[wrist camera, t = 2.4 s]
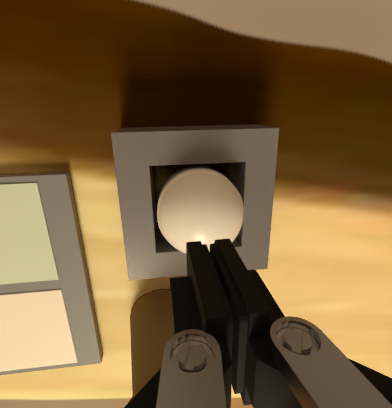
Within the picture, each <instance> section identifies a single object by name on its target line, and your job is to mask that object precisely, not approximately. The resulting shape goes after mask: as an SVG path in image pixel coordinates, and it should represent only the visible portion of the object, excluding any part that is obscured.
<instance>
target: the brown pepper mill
mask: <svg viewBox="0 0 392 408" xmlns="http://www.w3.org/2000/svg"><path fill="white" fill-rule="evenodd" d="M130 326H131V357H132V388H133V396H132V398H131V399H130V401H131V400H132V399H133V398H134V397H135V395H136V394H137V393H138V392H139V391H140V390H141V389H142V388H143V387H144V386H145V385H146V384H147V382H148V381H149V380H150V379H151V378H152V377H153V376H154V375H155V374H156V373H157V372H158V371H159V370H160V368H161V366H162V359H163V352H164V348H165V345H166V343H167V342H168V341H169V339H170V338H171V337H173V336H174V332H173V321H172V309H171V294H170V289H159V290H153V291H151V292H149V293H147V294H144V295H143V296H142V297H141V298H139V299H138V300H137V301H136V302H135V304H134V306H133V307H132V310H131V315H130ZM130 401H129V402H130ZM129 402H128V403H129Z"/></svg>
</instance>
